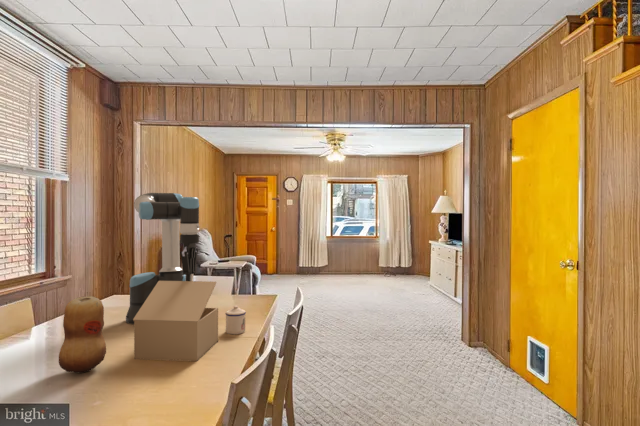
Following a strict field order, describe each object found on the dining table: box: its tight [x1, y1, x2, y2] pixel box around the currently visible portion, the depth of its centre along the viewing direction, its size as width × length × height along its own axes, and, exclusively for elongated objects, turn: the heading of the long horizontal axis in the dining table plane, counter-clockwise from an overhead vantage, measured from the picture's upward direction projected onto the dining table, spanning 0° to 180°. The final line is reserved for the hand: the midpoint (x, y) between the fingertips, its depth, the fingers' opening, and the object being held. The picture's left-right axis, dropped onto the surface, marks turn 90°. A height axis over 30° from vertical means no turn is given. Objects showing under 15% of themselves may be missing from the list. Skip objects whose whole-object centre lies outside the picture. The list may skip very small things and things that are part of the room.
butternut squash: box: [58, 296, 107, 374], centre depth 131 cm, size 14×13×25 cm
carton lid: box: [133, 280, 217, 323], centre depth 150 cm, size 25×22×1 cm
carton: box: [133, 307, 219, 362], centre depth 152 cm, size 24×22×14 cm
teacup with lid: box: [224, 305, 247, 335], centre depth 177 cm, size 12×9×12 cm
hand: (189, 289), depth 162 cm, fingers closed
